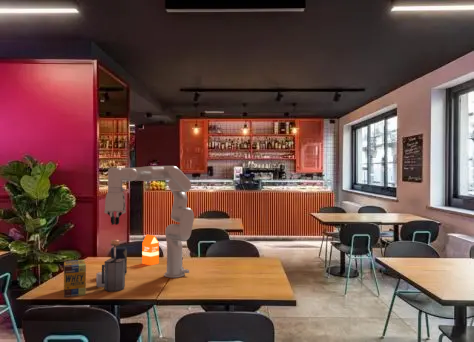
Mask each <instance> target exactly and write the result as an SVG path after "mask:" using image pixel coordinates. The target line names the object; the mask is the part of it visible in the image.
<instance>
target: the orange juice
mask: <svg viewBox="0 0 474 342" xmlns="http://www.w3.org/2000/svg"><path fill="white" fill-rule="evenodd" d="M141 244H142V248H141V250H142V251H141V254H142V255H141V257H142V258H141V264H143V265H147V266H153V265H154V266H155V265H158V264H159V263H160V261H159V260H160V241H158V239H157V236H156V235H153V234H146V235H145V237H144V239H143V240H142V243H141Z"/></svg>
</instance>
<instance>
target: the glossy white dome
mask: <svg viewBox="0 0 474 342" xmlns="http://www.w3.org/2000/svg"><path fill="white" fill-rule="evenodd" d="M95 276H96V277H95V279H96V281H95V283H96V284H95V287H96V288H99V287H102V288H105V284H102V271H100V272H99V271H98V272H97V273H96V275H95ZM104 281H105V271H104Z"/></svg>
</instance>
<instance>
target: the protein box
mask: <svg viewBox="0 0 474 342" xmlns="http://www.w3.org/2000/svg"><path fill="white" fill-rule="evenodd" d="M63 262H64V263H63V298H70V297H71V298H72V297H77V296H78V297H79V296H86V295H87V293H86V291H87V290H86V289H87V288H86V286H87V284H86V283H87V277H86V276H87V273H86V272H87V265H86V260H85V259H76V260H65V261H63Z"/></svg>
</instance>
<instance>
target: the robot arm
mask: <svg viewBox="0 0 474 342" xmlns="http://www.w3.org/2000/svg"><path fill="white" fill-rule="evenodd" d="M132 181H141V182H142V181H143V182H144V181H145V182H150V181H151V182H152V181H168V182H167V185H168V188H169V190H170V191H171V193H172V196H173V203H172V208H171V214H170V218H171V220H172V221H173V222H176V223H171V224H169V225H167V226H166V227H165V230H164V235H165V240H166V241H165V242H166V272H164V273H163V276H164V277H165V278H172V279H175V278H181V277H184V276H185V274H189V273H190V269H187V268H184V266H183V243H182V242H186V241H188V240H189V239H190V237H191V235H192V230H193V227H194V220H195V213H194V211H193V209H191V208H190V207H187V205H188V195H187V192H189V191H190V190H191V189H192V181H191V180H190V179H189V177H188V176H187V175H185V174H184V172H183V171H182V170H181V169H180V168H179V167H177V166H176V165H156V166H155V165H151V166H149V165H148V166H141V167H140V166H139V167H109V168H108V170H107V193H106V195H105V201H104V203H105V204H104V211H103V212H104V214H107V215H108V216H109V217H110V223H111V225H112V226H113V225H116V226H117V225H119V223H120V217H121V216H122V215H123V214H126V213H127V211H126V197H125V193H124V192H125V191H126V189H125V188H124V187H123V182H132ZM115 212H116V215H115Z"/></svg>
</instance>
